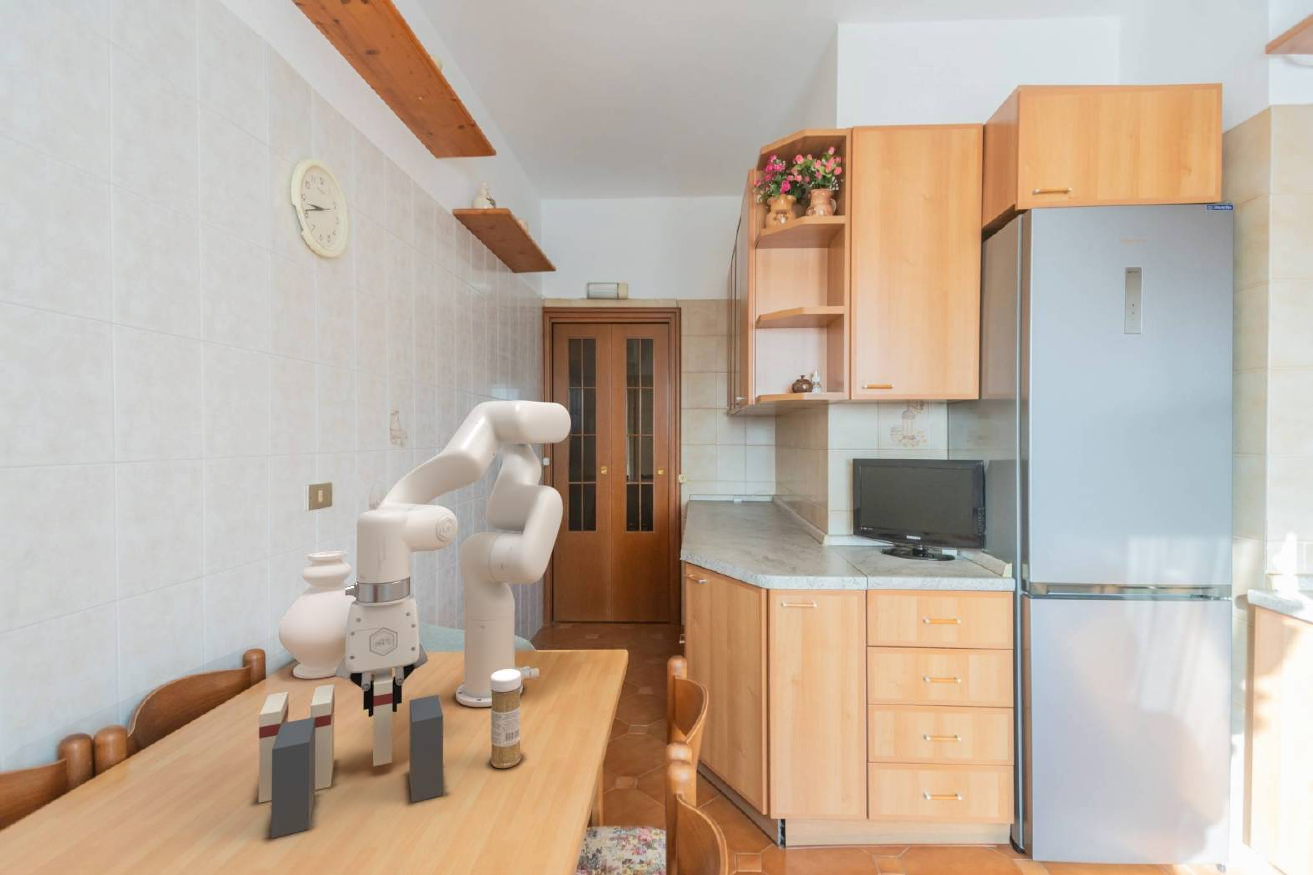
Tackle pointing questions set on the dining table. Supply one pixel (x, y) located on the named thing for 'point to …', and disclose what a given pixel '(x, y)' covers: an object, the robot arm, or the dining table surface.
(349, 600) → the decorative vase
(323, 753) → the ivory book
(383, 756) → the ivory book
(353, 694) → the dining table surface
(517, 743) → the sprinkles bottle
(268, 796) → the ivory book
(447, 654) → the dining table surface
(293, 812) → the grey book
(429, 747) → the grey book
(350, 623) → the robot arm
